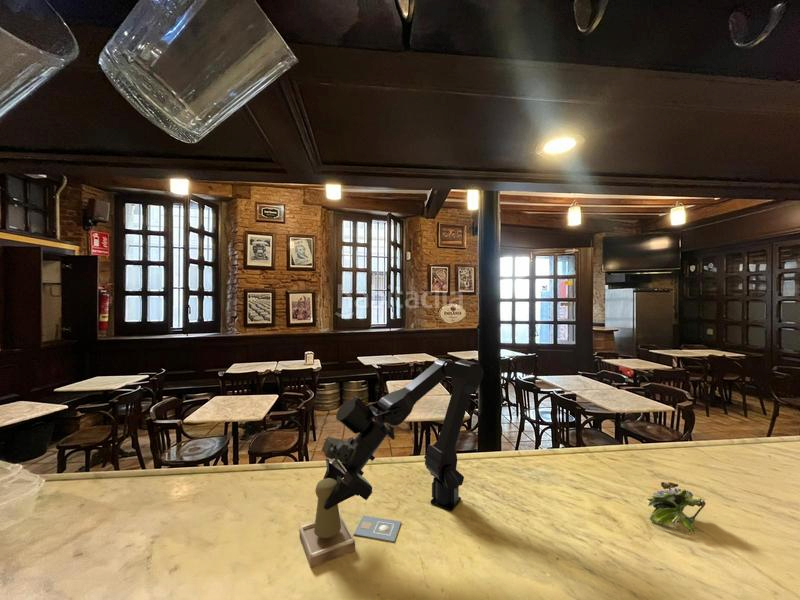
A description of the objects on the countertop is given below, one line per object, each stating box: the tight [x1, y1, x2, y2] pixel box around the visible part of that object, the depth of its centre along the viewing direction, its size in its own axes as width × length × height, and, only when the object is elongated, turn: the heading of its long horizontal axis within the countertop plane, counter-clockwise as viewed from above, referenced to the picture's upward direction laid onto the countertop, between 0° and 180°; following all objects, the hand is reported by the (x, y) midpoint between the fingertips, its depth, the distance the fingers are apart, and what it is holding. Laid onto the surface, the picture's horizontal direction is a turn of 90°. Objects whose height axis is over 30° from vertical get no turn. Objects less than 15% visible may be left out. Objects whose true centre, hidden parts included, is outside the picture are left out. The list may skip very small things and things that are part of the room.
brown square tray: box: [299, 513, 356, 568], centre depth 80 cm, size 10×10×3 cm
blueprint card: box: [352, 515, 402, 543], centre depth 85 cm, size 10×7×1 cm
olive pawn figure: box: [314, 478, 341, 538], centre depth 79 cm, size 6×6×11 cm
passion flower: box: [646, 481, 706, 533], centre depth 87 cm, size 11×11×12 cm
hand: (321, 502), depth 79 cm, fingers closed on olive pawn figure, 5 cm apart
